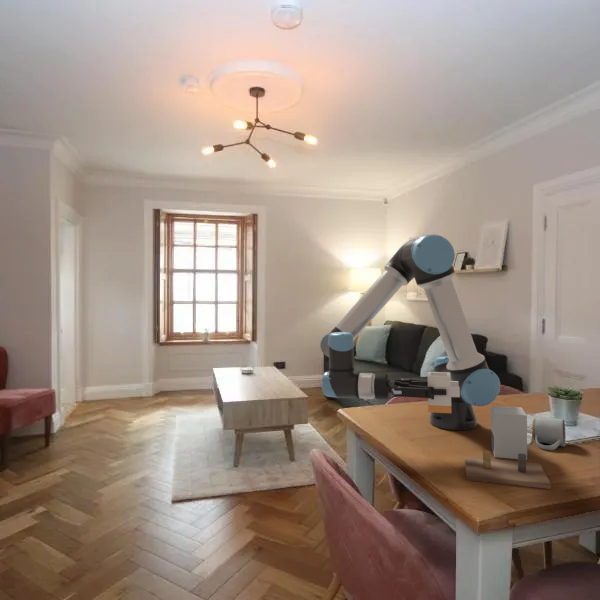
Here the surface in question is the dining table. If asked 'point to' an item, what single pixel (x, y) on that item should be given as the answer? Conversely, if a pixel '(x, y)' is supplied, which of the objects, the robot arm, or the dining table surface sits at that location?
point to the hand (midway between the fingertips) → (458, 389)
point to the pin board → (506, 471)
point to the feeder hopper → (508, 431)
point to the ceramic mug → (549, 432)
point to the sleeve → (438, 402)
